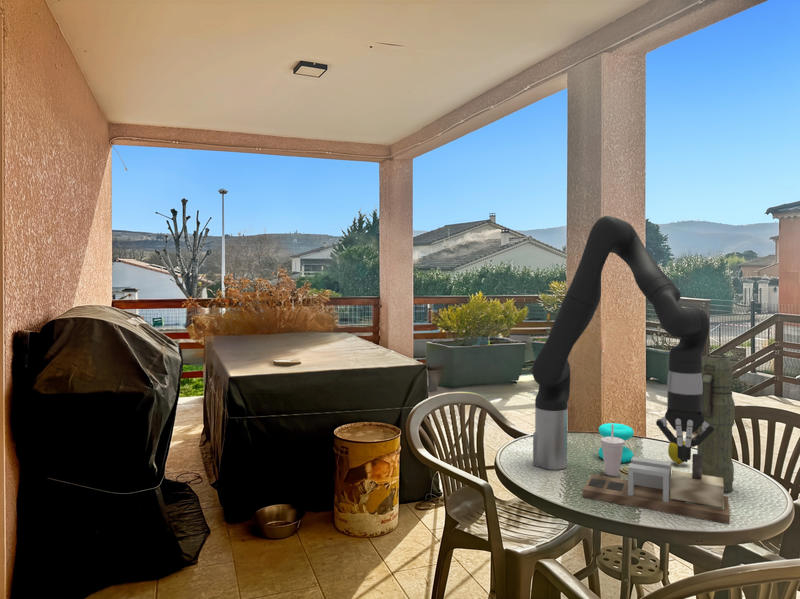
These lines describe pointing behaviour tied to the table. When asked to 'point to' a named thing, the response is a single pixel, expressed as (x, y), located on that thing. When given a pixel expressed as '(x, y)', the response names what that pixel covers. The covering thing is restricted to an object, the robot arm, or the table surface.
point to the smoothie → (612, 453)
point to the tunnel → (649, 475)
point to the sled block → (697, 485)
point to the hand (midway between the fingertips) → (683, 460)
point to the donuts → (619, 432)
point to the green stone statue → (717, 419)
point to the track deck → (651, 499)
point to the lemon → (674, 452)
